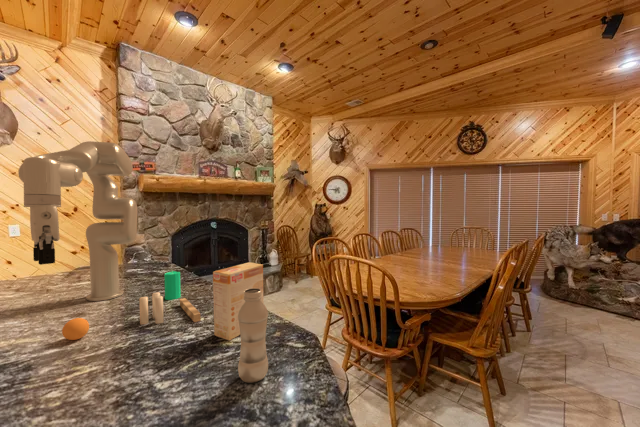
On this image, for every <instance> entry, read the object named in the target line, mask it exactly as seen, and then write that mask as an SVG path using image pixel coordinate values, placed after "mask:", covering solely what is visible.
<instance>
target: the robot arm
mask: <svg viewBox="0 0 640 427" xmlns="http://www.w3.org/2000/svg"><path fill="white" fill-rule="evenodd" d="M133 169H134V168H133V163H132V160H131V158H130V157H129V155H128V154H127V153H126V151H125V150H124V149H123V148H122V147H121V146H120V145H119V144H117V143H115V142H107V141H83V142H81V143H79V144H77V145H76V146H73V147H72V148H70V149H67V150H60V151H56V152H50V153H49V152H48V153H44V154H39V155H36V156H31V157H26V158H24V159H23V162H22V163H21V165H20V166H19V168H18V174H17V175H18V177H19V179H20V181H21V182H22V183H23V207H24V208H29V216H30V218H29V221H30V222H29V223H30V235H31V241H33V242H34V243H33V247H32V248H33V250H32V251H33V261H34V262H38V265H40V266H41V265H50V264H51V265H52V264H55V263H56V249H55V242H59V241H60V239H61V238H60V225H59V224H60V223H59V214H58V213H59V212H58V208H62V188H70V187H76V186H78V185H80V184H81V183H82V181H83V179H84V174H83V173H86V174H87V176H88V178H89V180H90V181H91V183H92V187H93V197H92V214H93V215H92V216H93V217H94V218H95V219H98V220H123V221H117V222H113V221H111V222H110V221H109V222H108V221H106V222H105V221H104V222H103V221H102V222H94V223H91V224H89V225H88V226H87V227H86V230H85V237H86V238H85V239H86V242H87V245H88V252H89V274H90V278H89V280H90V294H88V295H86V297H85V299H86V301H90V302H99V301H101V302H102V301H107V300H111V299H114V298H115V299H116V298H119V297H121V296H122V295H123V294H124V290H123V289H120V279H119V278H120V276H119V254H118V251H117V250H116V249H115V247H113V245H127V244H129V245H130V244H132V243H134V242H135V241H136V239H137V235H138V234H137V233H138V205H137V201H136V200H135V199H133V198H131V197H119V186H118V185H117V183H116V182H115V181H114V180H113V179H112V178H111V176H113V177H126V176H129V175H131V174H132V173H133ZM61 187H62V188H61Z"/></svg>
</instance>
